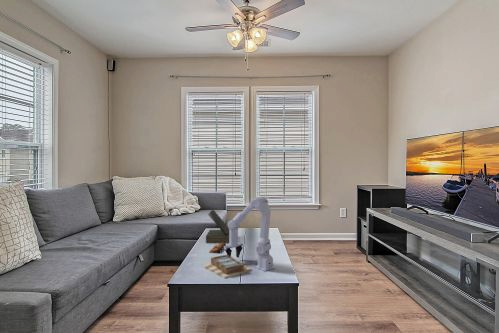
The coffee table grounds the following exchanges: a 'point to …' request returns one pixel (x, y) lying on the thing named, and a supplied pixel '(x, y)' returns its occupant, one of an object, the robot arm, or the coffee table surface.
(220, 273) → the birch board
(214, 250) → the sweet potato
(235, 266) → the tan cardboard box
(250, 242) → the coffee table surface
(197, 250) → the coffee table surface
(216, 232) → the green open lidded box
